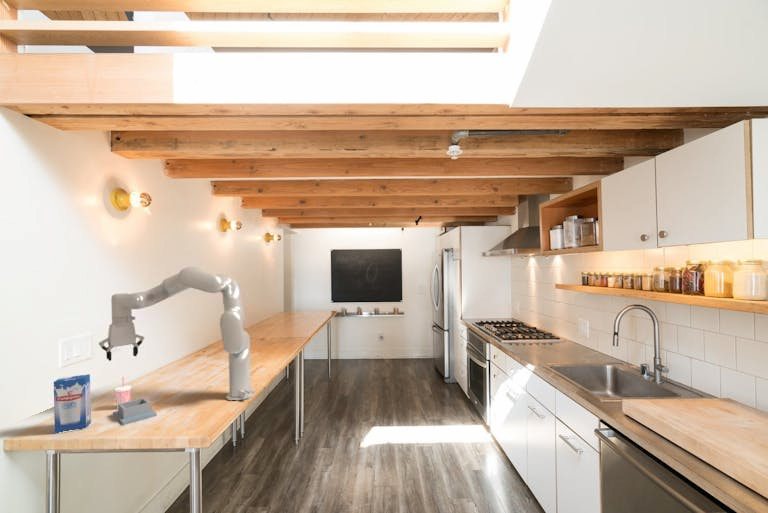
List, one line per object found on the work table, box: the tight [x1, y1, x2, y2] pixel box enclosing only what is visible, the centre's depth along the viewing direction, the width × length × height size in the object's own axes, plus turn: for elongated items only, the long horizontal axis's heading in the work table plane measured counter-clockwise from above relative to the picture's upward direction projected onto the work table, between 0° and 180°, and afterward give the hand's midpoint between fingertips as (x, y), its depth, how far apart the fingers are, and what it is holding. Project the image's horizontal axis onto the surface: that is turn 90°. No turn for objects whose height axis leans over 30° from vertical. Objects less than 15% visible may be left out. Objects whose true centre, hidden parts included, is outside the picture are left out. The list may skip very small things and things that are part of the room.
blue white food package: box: [53, 374, 92, 434], centre depth 150 cm, size 10×6×20 cm, turn 114°
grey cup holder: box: [112, 397, 157, 426], centre depth 162 cm, size 18×12×5 cm, turn 46°
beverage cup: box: [114, 376, 132, 409], centre depth 171 cm, size 6×6×14 cm
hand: (122, 358), depth 172 cm, fingers open, 9 cm apart
